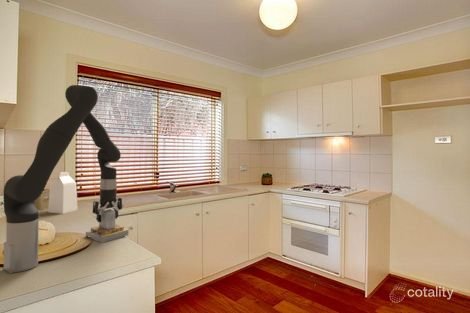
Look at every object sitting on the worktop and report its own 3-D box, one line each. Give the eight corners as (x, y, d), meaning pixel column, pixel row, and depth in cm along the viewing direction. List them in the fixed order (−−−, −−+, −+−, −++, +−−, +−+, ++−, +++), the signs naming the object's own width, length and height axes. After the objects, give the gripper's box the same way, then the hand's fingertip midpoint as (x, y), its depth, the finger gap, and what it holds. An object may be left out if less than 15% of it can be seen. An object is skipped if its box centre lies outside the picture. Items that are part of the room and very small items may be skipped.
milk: (63, 213, 173) (63, 173, 172) (48, 212, 175) (48, 172, 174) (77, 209, 184) (78, 172, 184) (63, 208, 187) (63, 171, 186)
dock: (102, 242, 124) (102, 236, 124) (85, 236, 132) (85, 230, 132) (128, 234, 136) (128, 229, 136) (111, 229, 144) (112, 224, 144)
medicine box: (115, 228, 133) (115, 210, 133) (106, 230, 129) (106, 212, 129) (107, 224, 138) (108, 208, 138) (98, 226, 134) (99, 209, 134)
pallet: (103, 235, 126) (103, 232, 126) (90, 231, 132) (90, 227, 132) (124, 230, 136) (124, 226, 136) (111, 226, 142) (111, 222, 141)
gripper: (98, 190, 125) (98, 224, 126) (125, 187, 137) (124, 218, 138) (90, 188, 129) (89, 221, 130) (116, 185, 141) (116, 216, 142)
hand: (107, 220), depth 134 cm, fingers open, 8 cm apart
